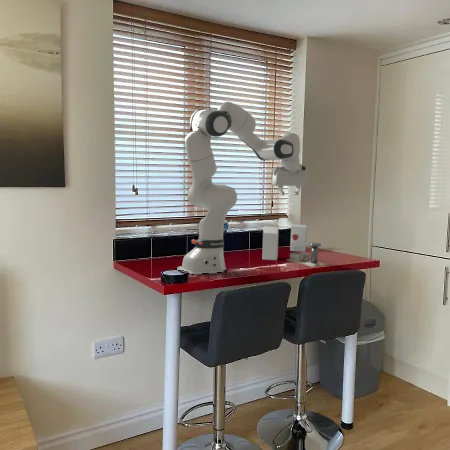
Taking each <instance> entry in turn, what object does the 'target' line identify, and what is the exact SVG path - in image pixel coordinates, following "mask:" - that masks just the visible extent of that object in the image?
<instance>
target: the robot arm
mask: <svg viewBox="0 0 450 450" xmlns="http://www.w3.org/2000/svg"><path fill="white" fill-rule="evenodd" d="M190 116H191V117H190V120H189V133H188V134H187V135H186V136H185V138H184V143H185V146H184V147H185V151H186V155H187V161H188V164H189V167H190V170H191V175H192V185H191V186H190V188H189V190H188V192H187V199H188V202H189V204H191V205H192V206H195V207H198V208H202V209H203V208H204V209H207V212H206V215H205V217H203V218H201V220H200V221H199V225H198V227H199V228H198V231H199V232H198V238H197V240H196V239H191V244H193V245H195V247H193V249H191V250H190V251H189V252H187V254H185V255H184V257H183V259H182V265H180V266H177V271H178V270H184V271H188V272H189V274H188V275H192V274H194V275H203V274H202V273H209V274H218V273H217V272H222V273H224V271H226V270H227V268H226V262H225V257H224V255H225V254H224V249H225V238H224V227H225V220H226V218H227V215H228V213H229V212H230V210H231V209H232V208H233V207H235V205H236V204H237V201H238V193H237V191H236V189H235V188H234V187H231V186H229V185H226V184H214V183H213V180H212V179H213V176H215V175H216V173H217V170H218V169H217V163H216V161H215V155H214V153H213V150H212V146H211V141H212V137H215V138H219V137H222V136H224V135H225V134H226V133H228V130H229V131H230V132H231V133H232V134H234V135H236V136H237V138H238V139H239V140H241V142H243V143H244V144H245V145H246V146H247V147H249V148H250V149H251V150H252V151H253V152H254V154H255V155H256V157H257V158H258V159H259V160H260V161H264V162H265V161H275V160H276V161H278V160H281V165H280V166H276V167H275V168H273V173H272V179H271V185H272V186H274V187H275V186H276V187H277V188H278V191H279V195H280V196H285V191H283V188H284V187H285V186H286V187H291V186H292V187H295V188H296V189H295V191H293V195H294V196H299V195H300V193H299V192H300V190H301V188H302V187H305V186H307V184H308V173H307V171H308V167H307V166H306V165H304V164H301V163H300V154H301V140H300V139H301V138H300V136H299V135H298V134H295V133H291V132H284V134H283V135H282V136H280V137H278V138H277V139H276V138H275V139H261V138H260V137H258V135H256V134H255V133H254V132H255V129H256V125H257V124H256V119H255V118H254V117H253V116H252V114H251V113H250V112H248V111H247V110H245V109H244V108H242V107H241V106H239V105H238V104H236V103H234V102H230V101H225V102H223V103H221V104H220V105H219V106H218V108H217V110H216V109H215V110H214V109H206V108H205V109H202V108H201V109H198V110H197V109H196V111H194V112H193V113H192V114H191V115H190Z"/></svg>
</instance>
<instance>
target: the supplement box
mask: <svg viewBox="0 0 450 450" xmlns="http://www.w3.org/2000/svg"><path fill="white" fill-rule="evenodd" d="M307 228H308V226H307V224H295V223H294V224H293V223H292V224H291V228H290V229H291V230H290V245H289V246H290V247H289V248H290V249H289V250H290V252H302V253H306V248H307V236H308V235H307V232H308V231H307V230H308V229H307Z"/></svg>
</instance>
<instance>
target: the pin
mask: <svg viewBox="0 0 450 450" xmlns="http://www.w3.org/2000/svg"><path fill="white" fill-rule="evenodd" d="M308 246H310V247H311V251H310V252H311V255H310V260H311V263H314V264H316V263H317V262H318V258H319V257H318V256H319V255H318V254H319V247H321V246H322V244H321V242H309V243H308Z"/></svg>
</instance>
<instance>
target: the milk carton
mask: <svg viewBox="0 0 450 450" xmlns="http://www.w3.org/2000/svg"><path fill="white" fill-rule="evenodd" d="M278 254H279V224H273V223H272V224H271V223H270V224H269V223H264V225H263V231H262V257H261V258H262V260H265V261H266V260H267V261H277V260H278V256H279V255H278Z"/></svg>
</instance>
